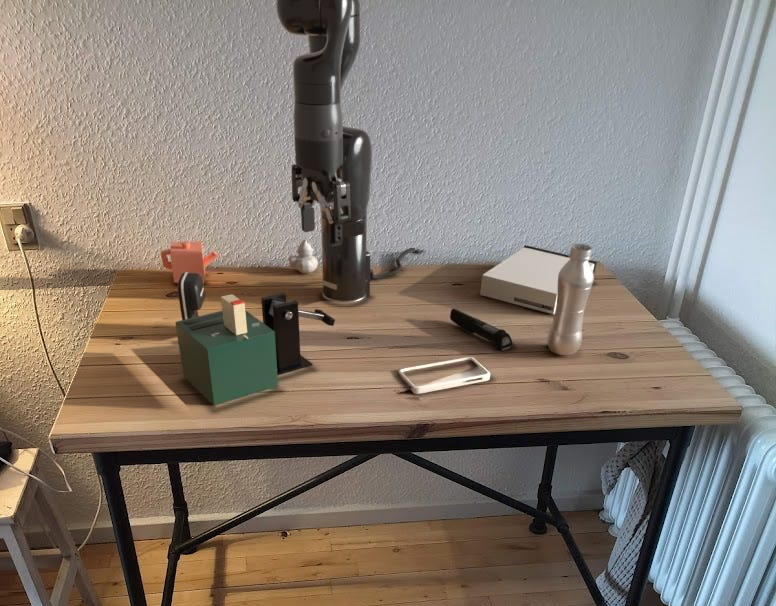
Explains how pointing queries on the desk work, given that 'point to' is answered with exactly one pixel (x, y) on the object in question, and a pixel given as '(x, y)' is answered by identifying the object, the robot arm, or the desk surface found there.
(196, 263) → the pink cube teapot
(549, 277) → the disc drive
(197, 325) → the toaster slots
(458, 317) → the electric trimmer
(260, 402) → the desk surface
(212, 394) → the toaster
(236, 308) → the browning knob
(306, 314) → the lever
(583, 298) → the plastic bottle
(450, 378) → the phone case
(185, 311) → the black computer mouse
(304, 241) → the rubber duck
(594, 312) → the desk surface
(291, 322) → the black lever stand
